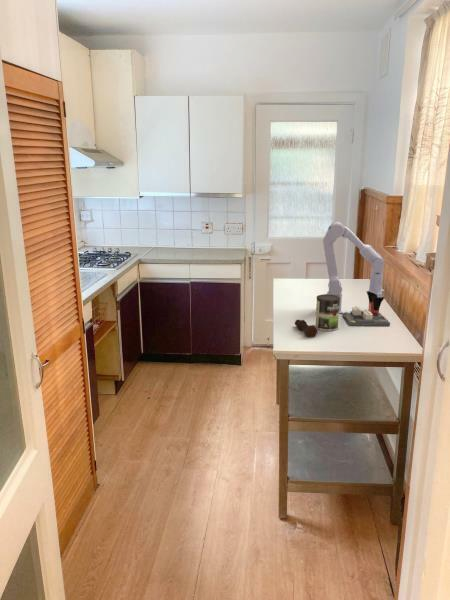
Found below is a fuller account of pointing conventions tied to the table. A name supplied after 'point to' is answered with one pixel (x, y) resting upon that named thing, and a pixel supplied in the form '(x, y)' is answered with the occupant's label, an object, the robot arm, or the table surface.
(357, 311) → the toggle
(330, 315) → the coffee can
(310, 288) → the table surface
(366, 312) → the toggle tagged
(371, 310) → the cap
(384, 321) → the grey tray
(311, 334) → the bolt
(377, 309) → the robot arm
